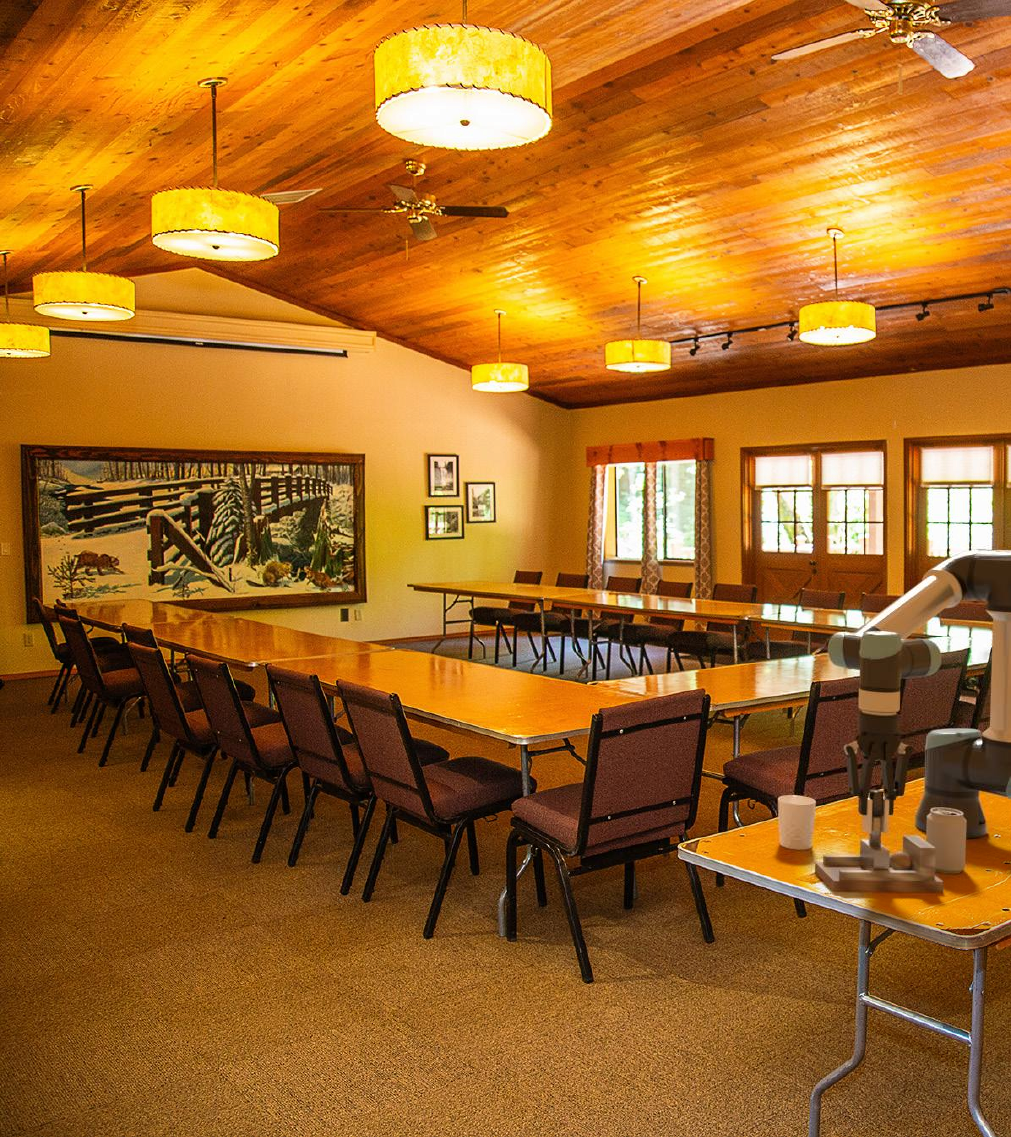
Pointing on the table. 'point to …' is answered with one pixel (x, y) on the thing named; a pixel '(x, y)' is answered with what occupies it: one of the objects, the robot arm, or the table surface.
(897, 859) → the tan ball
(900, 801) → the table surface
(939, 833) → the can
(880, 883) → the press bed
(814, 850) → the table surface
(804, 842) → the white cup
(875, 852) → the ram
